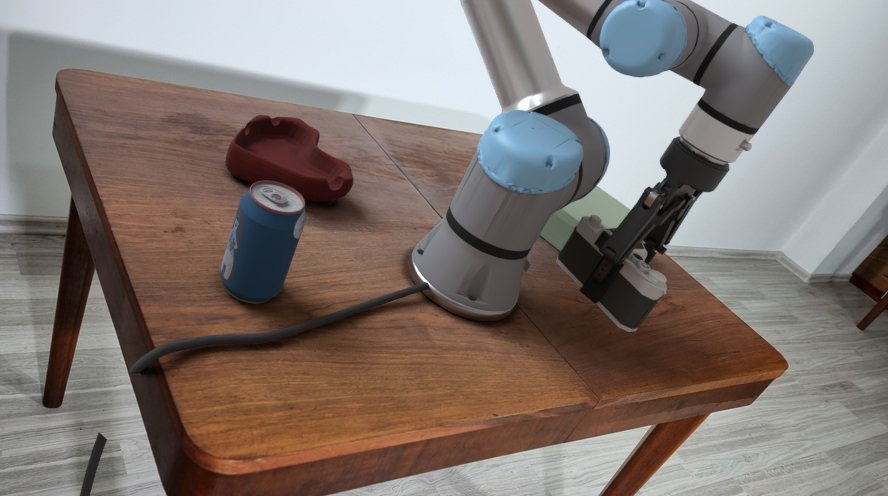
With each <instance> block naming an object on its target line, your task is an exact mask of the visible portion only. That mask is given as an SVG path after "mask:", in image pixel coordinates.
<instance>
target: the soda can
mask: <svg viewBox="0 0 888 496" xmlns="http://www.w3.org/2000/svg"><path fill="white" fill-rule="evenodd" d="M305 207H306V200H304V198H303V197H302V195H301V194H300V193H299V192H297V191H296V190H295V189H293V188H291V187H289V186H287V185H285V184H282V183H279V182H275V181H258V182H255V183H252V184H251V186H250V187H249V190H248V191H247V192H246V193H244V194H243V196H241V197H240V199H239V203H238V207H237V210H236V214H235V216H234V220H233V224H232V227H231V231H230V234H229V238H228V240H227V245H226V247H225V251H224V254H223V257H222V261H221V265H220V268H219V276H220V279H221V282H222V284H223V287H224V289H225V290H226V292H227V293H228V294H229V295H230V296H232V297H233V298H235V299H236V300H239V301H240V302H243V303H247V304H255V305H257V304H263V303H266V302H268V301H270V300H271V299H273V298H274V297H276V296H277V295H279V294H280V292H281V291H282V289H283V287H284V284H285V281H286V278H287V276H288V273H289V270H290V267H291V264H292V261H293V258H294V255H295V253H296V250H297V247H298V244H299V242H300V238H301V237H302V233H303V230H304V227H305V225H306V221H307V216H306V215H307V214H306V211H305Z"/></svg>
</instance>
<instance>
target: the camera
mask: <svg viewBox="0 0 888 496" xmlns="http://www.w3.org/2000/svg"><path fill="white" fill-rule="evenodd" d="M601 222H602V219H600V218H599V217H598V216H597V215H591V217H590V216H583V217H582V218H581V220H580V222H579V223H578V225H577V226H575V228H574V231H573V233H572V234H571V236H570V237H569V239H568V241H567V242H566V244H565V245H564V247H563V248H562V250H561V251H559V252H558V253H557V256H556V261H555V263H556V264H557V265H558V266H559V267H560V268H561V269H562V270H563V271H564V272H565V273H566V274H567V275H568V276H569V277H570V278H571V279H572V281H574V283H576V285H577V286H578V287H579V289H581V287H582V286H583V285H584V283H585V282H586V280H587V279H588V277H589V276H590V274H591V273H592V271H593V270H594V268H595V267H596V265H597V264H598V262H599V261H600V259H601V258H602V256H603V254H602V253H601V252H600V250H599V248H600V246H601V245H602V246H603V245H604V244H605V242H606V241H607V240H608V239H609V237H610V236H611V235H612V234H613V232H614V231H615V230H616V228H606V227H605V226H604V225H603V224H602V223H601ZM644 244H645V242H644V241H641V242H640V244H639V245H638V246H637V247H636V248H635V249H634V250H633V251H632V252H631V253H630V255H629V256H628V257H627V258H626V259H625V260H624V262H623V263H622V264H624V266H623V267H622V268H621V270H620V271H619V273H618V274H617V276H616V277H615V278H614V280H613V281H612V283H611V284H610V286H609V287H608V288H607V290H606V291H605V293H604V294H603V295H602V297H601V298H600V300H599V301H598V303H596V304H595V305H596V306H597V307H598V308H599V309H600V310H601V311H602V312H603V313H604V314H605V315H606V316H607V317H608V318H609V319H610V320H611V321H612V322H613V323H614V325H616V327H618V328H619V329H621V330H623V331H626V332H628V333H631V332H632V333H633V332H636V331H637V330H638V329H639V328H640V327H641V325H642V324H643V323H644V321H645V320H646V318H647V317H648V316H649V314H650V313H651V312H652V310H653V309H654V308H655V307H656V305H657V304H658V303H659V301H660V300H661V299H662V298H663V297H664V296H665V295H667V290H668V285H667V283H666V282H667V281H668V279H667V277H666V276H665V275H664V274H663V273H661V272H660V271H658V270H655V269H653V268H651V266H650V264H648V265H647V264H646V263H645V261H644V260H645V259H646V257H647V253H648V252H647V250H646V248H645V246H644Z"/></svg>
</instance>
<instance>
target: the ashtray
mask: <svg viewBox="0 0 888 496" xmlns="http://www.w3.org/2000/svg"><path fill="white" fill-rule="evenodd" d="M320 135H321V133H320V130H318V129H316V128H315V127H313V126H311V125H309V124H307V122H305V121H304V120H302V119H301V118H298V117H293V116H275V117H272V118H271V116H270V115H266V114H259V115H258V114H257V115H255V116H254V117H253V118H251V119H250V120H249V121H248V122H247V123H246V124H245V126H244V127H241V129H240V130H239V131H238V132H237V133H236V134H235V135H234V137H233V139H232V140H231V141H230V144H229V145H228V148H227V152H226V154H225V162H224V163H225V168H226V169H227V171H228V172H229V173H230V174H231V175H232V176H233V178H235V179H237V180H240V181H242V182H249V183H252V184H254V183H255V182H258V181H275V182H279V183H282V184H285V185H287V186H289V187H291V188H293V189H295V190H296V191H297V192H299V193H300V194H301V195H302V197H303V198H304V200H305V201H310V202H315V203H318V204H319V205H323V206H331V205H332V204H333V202H335V201H337V200H340V199H342V198H344V197H345V196H347V195H348V194H349V193H350V191H351V190H352V187H353V185H354V180H355V179H354V176H353V171H352V168H351V166H350V164H349V163H347V162H345V161H344V160H342V159H339V158H337V157H335V156H333V155H331V154H329V153H327V152H325V151H324V150H323V149H321V148H320V147H319V142H320Z"/></svg>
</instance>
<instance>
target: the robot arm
mask: <svg viewBox="0 0 888 496" xmlns="http://www.w3.org/2000/svg"><path fill="white" fill-rule="evenodd" d="M537 1H538V2H539V3H541V4H542V5H543V6H544V7H546V8H547V9H548V10H550V11H551V12H552V13H554V14H555V15H556V16H558V17H559V18H560V19H562V21H565V22H566V23H567V24H568V25H570V26H571V27H572V28H574V29H575V30H576V31H577V32H578V33H580V34H581V35H583V36H584V37H585V38H586V39H588V40H589V41H590V42H592V43H593V44H594V45H595V46H596V47H597V48H599V49H600V51H601V54H602V56H603V59H604V60H605V62H606V63H607V65H608V66H610V68H612V70H614V71H616V72H617V73H619V74H622V75H624V76H628V77H629V76H630V77H633V78H648V77H654V76H657V75H660V74H662V73H664V72H669V71H671V72H672V73H674V74H676V75H678V76H680V77H682V78H683V79H686V80H687V81H689V82H691V83H692V84H694V85H696V86H697V87H701V89H703V90H704V92H703V94H702V96H701V97H700V98H699V100H698V101H697V102H696V104H695V105H694V107H693V108H692V110H691V111H690V113H689V114H688V115H687V117H686V118H685V120H684V121H683V123H682V124H681V126H680V127H679V128H678V135H679V136H676V137H673V139H672V140H671V141H670V143H669V144H668V146H667V147H666V148H665V150H664V152H663V153H662V155H661V156H660V158H659V165H660V167H661V168H662V169H663V170H664V171H665V177H664V178H663V179H662V180H661V181H658V182H657V183H655V185H654V186H653V187H651V186H650V185H649V186H647V187H646V188H645V189H643V192H642V193H641V195H640V197H639V198H638V200H637V201H636V203H635V204H634V205H633V207H631V209H630V210H631V211H630V212H629V213H628V214H627V216H626V217H625V218H624V220H623V221H622V222H621V223H620V225H619V226H618V227H617V228H616V230H615V231H614V232H613V234H612V235H611V236H610V237H609V239H608V240H607V241H606V242H605V244H604V245H603V246H602V245H601V246H600V248H599V250H600V252H601V253H602V254H603V256H602V258H601V259H600V261H599V262H598V264H597V265H596V267H595V268H594V270H593V271H592V273H591V274H590V276H589V277H588V279H587V280H586V282H585V283H584V285H583V286H582V287H581V288H579V292H580V293H581V294H582V295H583V296H584V297H586V298H587V299H588V300H589V301H590V302H592V303H593V304H594V305H597V304H596V303H598V301H599V300H600V298H601V297H602V295H603V294H604V293H605V291H606V290H607V288H608V287H609V286H610V284H611V283H612V281H613V280H614V278H615V277H616V276H617V274H618V273H619V271H620V270H621V268H622V267H623V266H624V264H622V263H623V262H624V260H625V259H626V258H627V257H628V256H629V255H630V253H631V252H632V251H633V250H634V249H635V248H636V247H637V246H638V245H639V244H640V242H641V241H642V240H643V239H644V240H643V243H644V246H645V248H646V250H647V252H648V253H647V257H646V259H645V260H644V261H645V263H646V264H647V265H650V263H651V262H652V260H653V259H654V257H655V256H656V255H657V253H658V254H660V255H664V254H665V253H666V252H667V250H668V248H667V246H668V245H669V244H670V243H671V241H672V239H673V237H674V236H675V235H676V233H677V232H678V230H679V228H680V227H681V225H682V223H683V222H684V220H685V218H686V217H687V216H688V214H689V212H690V211H691V209H692V208H693V206H694V204H695V203H696V201H697V200H698V199H699V198H700V197H701V195H703V193H712V192H714V191H715V190H716V189H717V187H718V186H719V185H720V184H721V183H722V181H723V180H724V179H725V177H726V175H727V174H728V173H729V172H730V164H732V163H735V162H736V161H737V160H738V159H739V157H740V156H741V155H742V153H743V151H744V152H749V151H751V149H752V147H753V145H752V143H751V142H750V141H751V140H752V139H754V137H755V135H756V134H757V133H758V132H759V130H760V129H761V128H762V127H763V125H764V124H765V122H767V120H768V118H769V117H770V116H771V115H772V114H773V112H774V110H775V109H776V108H777V106H778V105H779V104H780V103H781V101H782V100H783V99H784V97H785V96H786V95H787V94H788V92H789V91H790V90H791V88H792V87H793V86H794V84H795V82H796V81H797V79H798V77H799V76H800V74H801V73H802V72H803V70H804V69H805V67H806V66H807V64H808V63H809V61H810V60H811V58H812V57H813V55H814V53H815V45H814V42H813V40H811V38H809V37H808V36H806V35H804V33H803V34H802V33H801V32H799V31H797V30H795V29H793V28H792V27H790V26H787V25H785V24H783V23H780V22H779V21H777V20H775V19H773V18H771V17H768V16H765V15H757V16H755V17H754V18H753V19H752V20H751V21H750V22H749V23H748V24H746V26H742V25H738V24H737V23H735V22H732V21H729V20H727V19H726V18H724V17H722V16H720V15H718V14H717V13H715V12H713V11H711V10H710V9H708V8H706V7H704V6H702V5H700V4H698V3H696V2H695V1H693V0H537ZM459 2H460V4H461V7H462V10H463V12H464V15H465V19H466V20H467V23H468V25H469V27H470V31H471V34H472V36H473V38H474V41H475V44H476V46H477V49H478V51H479V54H480V56H481V60H482V62H483V64H484V67H485V69H486V71H487V75H488V77H489V80H490V83H491V85H492V87H493V90H494V92H495V95H496V98H497V100H498V103H499V106H500V108H501V113H500V114H498V115H496V116H495V117H494V118H493V119H492V120H491V121H490V124H489V125H488V127H487V129H486V130H484V132H483V134H482V136H481V137H480V138H479V141H478V143H477V148H476V149H475V152H474V154H473V156H472V158H471V161H470V162H469V164H468V166H467V169H466V170H465V173H464V175H463V177H462V179H461V181H460V184H459V186H458V187H457V189H456V192H455V193H454V196H453V198H452V200H451V202H450V205H449V207H448V209H447V211H446V213H445V214H444V216H443V217H442V219H441V220H439V222H437V224H435V225H434V226H433V227H432V228H431V229H430V231H428V232H427V234H425V235H424V236H423V238H421V239H420V240H419V242H417V244H416V245H415V246H414V248H413V249H412V251H411V254H410V256H409V258H408V261H407V271H408V273H409V277H410V278H411V280H412V281H413V283H414V284H415V285H412V286H408V287H406V288H402V289H399V290H395V291H393V292H390V293H386V294H384V295H381V296H378V297H375V298H372V299H369V300H366V301H364V302H361V303H358V304H354V305H353V306H349V307H346V308H343V309H341V310H337V311H334V312H332V313H328V314H325V315H321V316H319V317H316V318H313V319H310V320H307V321H304V322H301V323H298V324H294V325H291V326H288V327H284V328H280V329H276V330H270V331H265V332H264V331H263V332H257V333H238V334H236V333H235V334H232V333H231V334H213V335H212V334H211V335H203V336H202V335H201V336H197V337H191V338H187V339H186V338H185V339H181V340H176V341H172V342H168V343H164V344H162V345H159V346H157V347H155V348H153V349H151V350H150V351H148V352H146V353H145V354H144V355H142V356H141V357H140V358H139V359H138V360H136V362H134V364H132V366H130V368H129V369H128V371H129V373H130V374H131V375H132V374H133V375H137V374H140V373H141V372H143V371H144V370H145V369H146V368H147V367H148V366H149V365H151V364H152V363H154V362H155V361H156V360H158V359H160V358H162V357H164V356H167V355H169V354H172V353H176V352H181V351H186V350H190V349H195V348H200V347H207V346H217V345H218V346H219V345H242V344H243V345H245V344H258V343H265V342H271V341H276V340H280V339H284V338H288V337H291V336H295V335H298V334H302V333H304V332H308V331H310V330H313V329H316V328H319V327H322V326H326V325H328V324H330V323H334V322H337V321H340V320H342V319H345V318H348V317H351V316H354V315H356V314H359V313H361V312H365V311H367V310H370V309H373V308H376V307H379V306H382V305H385V304H387V303H390V302H394V301H396V300H399V299H402V298H406V297H408V296H411V295H415V294H416V293H420V292H422V293H423V294H424V295H425V296H426V297H427V298H428V299H430V300H431V301H432V302H434V304H436V305H438V306H440V307H441V308H443V309H445V310H447V311H448V312H450V313H453V314H455V315H457V316H459V317H463V318H466V319H468V320H474V321H479V322H496V321H500V320H503V319H505V318H507V317H508V316H509V315H510V314H511V313H512V311H513V309H514V308H515V306H516V305H517V302H518V300H519V297H520V291H521V287H522V281H523V275H524V273H527V272H528V270H529V268H530V267H531V263H530V262H529V260H528V259H527V257H528V255H529V254H530V252H531V250H532V249H533V247H534V246H535V243H536V242H537V240H538V239H539V237H540V233H541V231H542V230H543V228H544V226H545V225H546V223H547V221H548V220H549V218H550V217H551V215H552V214H553V213H555V212H557V211H558V210H560V209H562V208H564V207H565V206H567V205H568V204H570V203H572V202H574V201H577V200H580V199H582V198H584V197H585V196H586V195H588V194H589V193H590V192H591V191H592V190H593V189H594V188H595V187H596V186H599V185H598V184H600V182H602V180H603V178H604V177H605V175H606V173H607V171H608V168H609V166H610V165H609V164H610V160H611V147H610V142H609V139H608V136H607V133H606V132H605V130H604V128H603V127H602V126H601V125H600V124H599V123H598V122H597V121H596V120H594V118H592V117H590V116H588V114H587V111H586V109H585V106H584V103H583V101H582V98H581V95H580V93H579V91H578V90H576V89H574V88H571V87H569V86H567V85H565V84H564V83H563V82H562V78H561V76H560V74H559V71H558V68H557V66H556V63H555V61H554V58H553V55H552V53H551V50H550V47H549V45H548V42H547V39H546V36H545V34H544V31H543V29H542V26H541V24H540V21H539V19H538V16H537V13H536V10H535V8H534V5H533V2H532V0H459ZM107 441H108V439H107V438H106V437H105V436H104V435H103V434H102V433H100V432H98V433H97V435H96V439H95V440H94V444H93V447H92V450H91V453H90V456H89V459H88V462H87V463H88V464H87V466H86V469H85V473H84V476H83V481H82V485H81V489H80V493H79V496H91V493H92V488H93V485H94V480H95V478H96V474H97V471H98V467H99V465H100V462H101V459H102V456H103V452H104V450H105V447H106V444H107Z"/></svg>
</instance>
